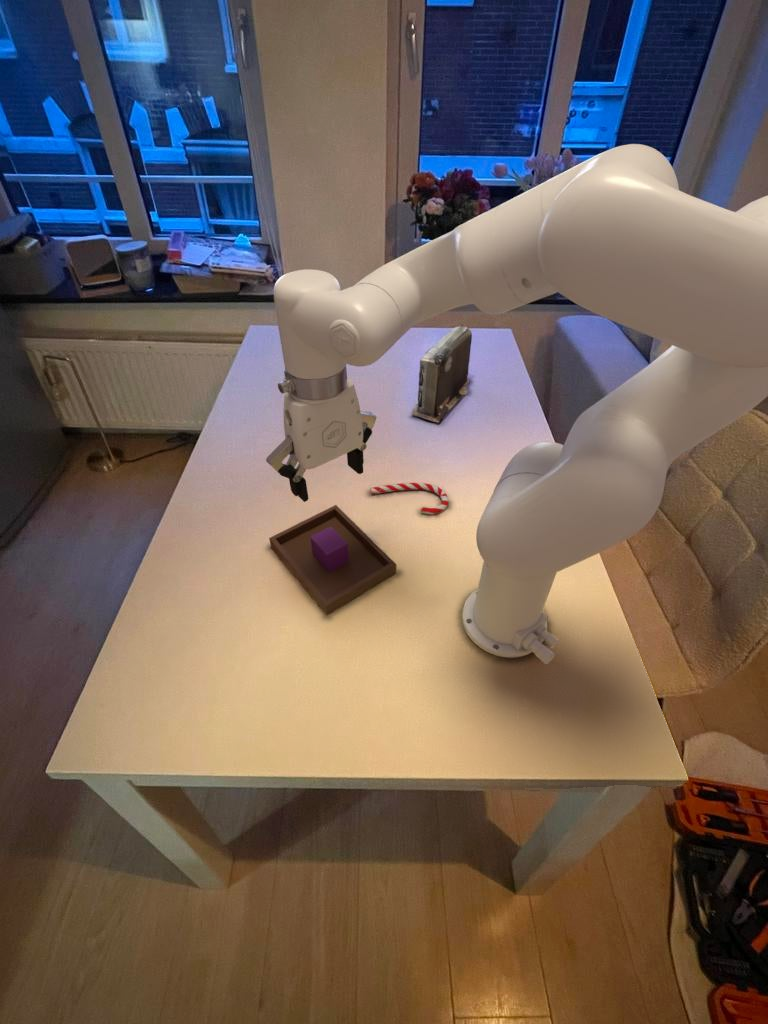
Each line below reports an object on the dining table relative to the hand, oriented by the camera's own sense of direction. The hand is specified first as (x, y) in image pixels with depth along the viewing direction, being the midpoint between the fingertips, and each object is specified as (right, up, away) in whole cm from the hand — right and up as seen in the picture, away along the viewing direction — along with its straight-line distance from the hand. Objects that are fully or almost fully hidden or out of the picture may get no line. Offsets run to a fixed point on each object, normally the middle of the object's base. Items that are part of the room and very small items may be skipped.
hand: (329, 482), depth 78 cm
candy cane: (+13, -2, +22) cm, 26 cm away
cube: (-1, -12, +11) cm, 16 cm away
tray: (-1, -13, +11) cm, 17 cm away
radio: (+22, +23, +48) cm, 57 cm away
